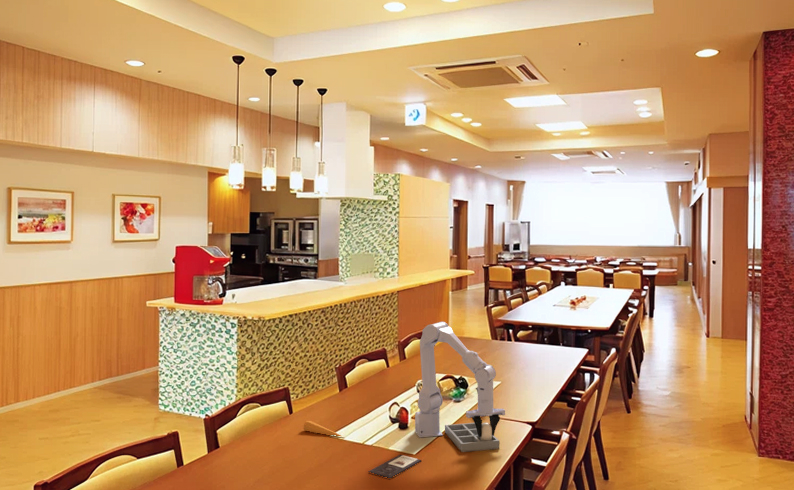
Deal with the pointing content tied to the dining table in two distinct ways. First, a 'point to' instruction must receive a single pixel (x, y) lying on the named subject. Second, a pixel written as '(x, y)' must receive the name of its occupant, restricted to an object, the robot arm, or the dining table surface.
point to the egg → (486, 432)
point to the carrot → (317, 428)
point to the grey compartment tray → (469, 438)
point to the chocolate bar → (395, 466)
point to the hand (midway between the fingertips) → (485, 435)
